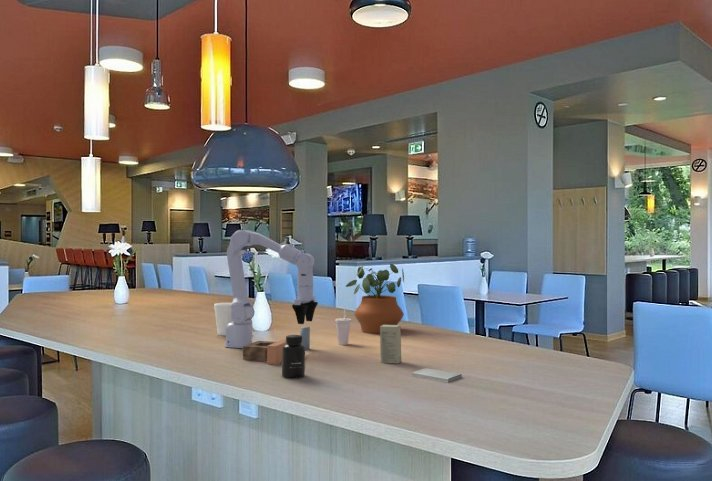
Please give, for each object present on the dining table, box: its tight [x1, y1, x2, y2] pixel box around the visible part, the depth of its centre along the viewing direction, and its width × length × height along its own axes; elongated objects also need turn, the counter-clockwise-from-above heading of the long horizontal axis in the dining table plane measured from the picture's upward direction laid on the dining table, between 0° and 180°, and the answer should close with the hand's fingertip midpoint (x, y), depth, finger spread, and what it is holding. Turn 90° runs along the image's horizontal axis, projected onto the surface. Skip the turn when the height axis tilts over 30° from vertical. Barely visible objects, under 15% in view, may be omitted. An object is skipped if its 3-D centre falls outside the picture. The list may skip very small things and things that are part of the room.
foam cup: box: [213, 302, 233, 337], centre depth 243 cm, size 10×9×13 cm
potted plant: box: [345, 263, 405, 334], centre depth 256 cm, size 23×28×30 cm
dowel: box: [299, 326, 311, 351], centre depth 211 cm, size 4×4×8 cm
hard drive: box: [411, 367, 463, 383], centre depth 170 cm, size 2×8×12 cm
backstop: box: [266, 338, 287, 366], centre depth 193 cm, size 3×18×6 cm, turn 161°
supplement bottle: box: [281, 334, 306, 380], centre depth 169 cm, size 7×7×12 cm
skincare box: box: [379, 324, 402, 364], centre depth 189 cm, size 6×4×12 cm
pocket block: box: [242, 340, 277, 362], centre depth 195 cm, size 11×11×4 cm
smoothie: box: [334, 307, 352, 346], centre depth 221 cm, size 6×6×14 cm
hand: (305, 322), depth 211 cm, fingers open, 7 cm apart
